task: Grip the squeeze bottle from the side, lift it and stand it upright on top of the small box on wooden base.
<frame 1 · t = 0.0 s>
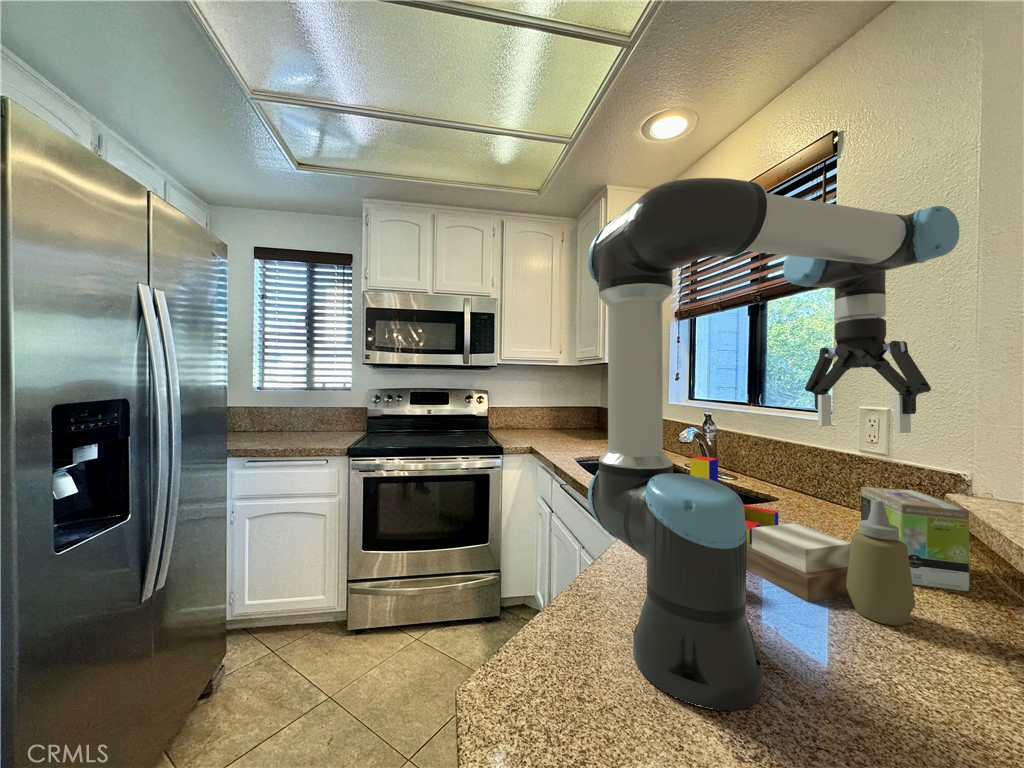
hand: (860, 429, 77), 28 cm above the countertop, tool pointing down, fingers open, 13 cm apart
box on wooden base: (800, 577, 75), on the countertop
building blocks toy: (715, 541, 94), on the countertop
squeeze bottle: (879, 617, 62), on the countertop
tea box: (909, 571, 78), on the countertop
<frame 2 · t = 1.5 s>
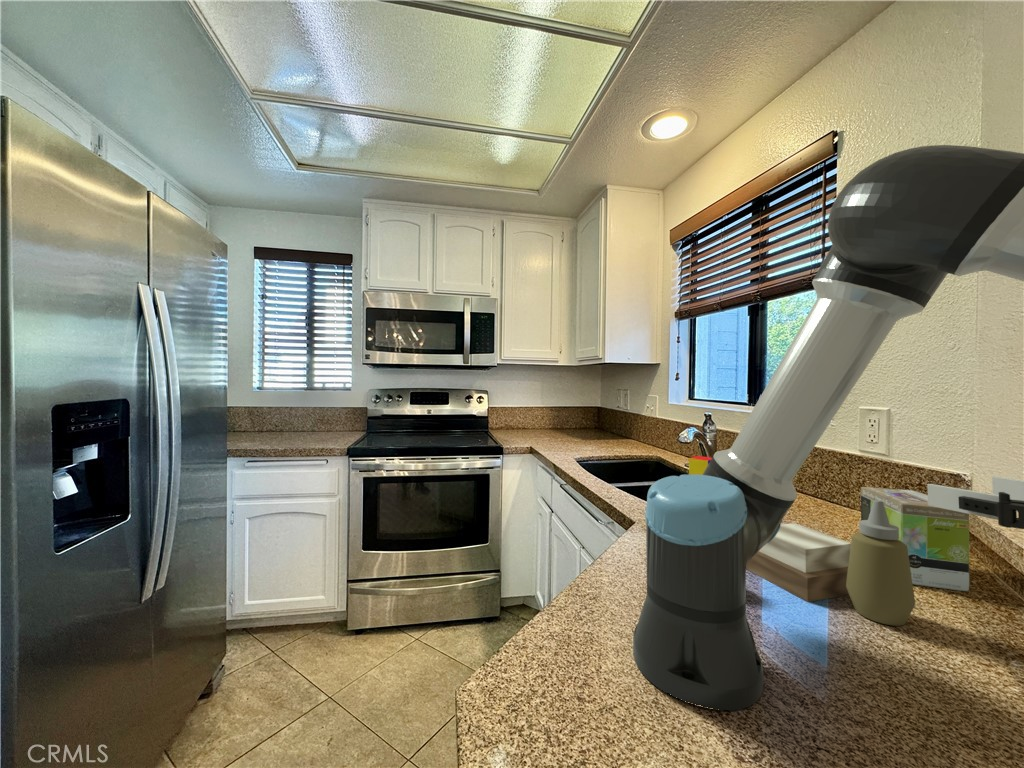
hand: (962, 490, 53), 22 cm above the countertop, tool horizontal, fingers open, 13 cm apart
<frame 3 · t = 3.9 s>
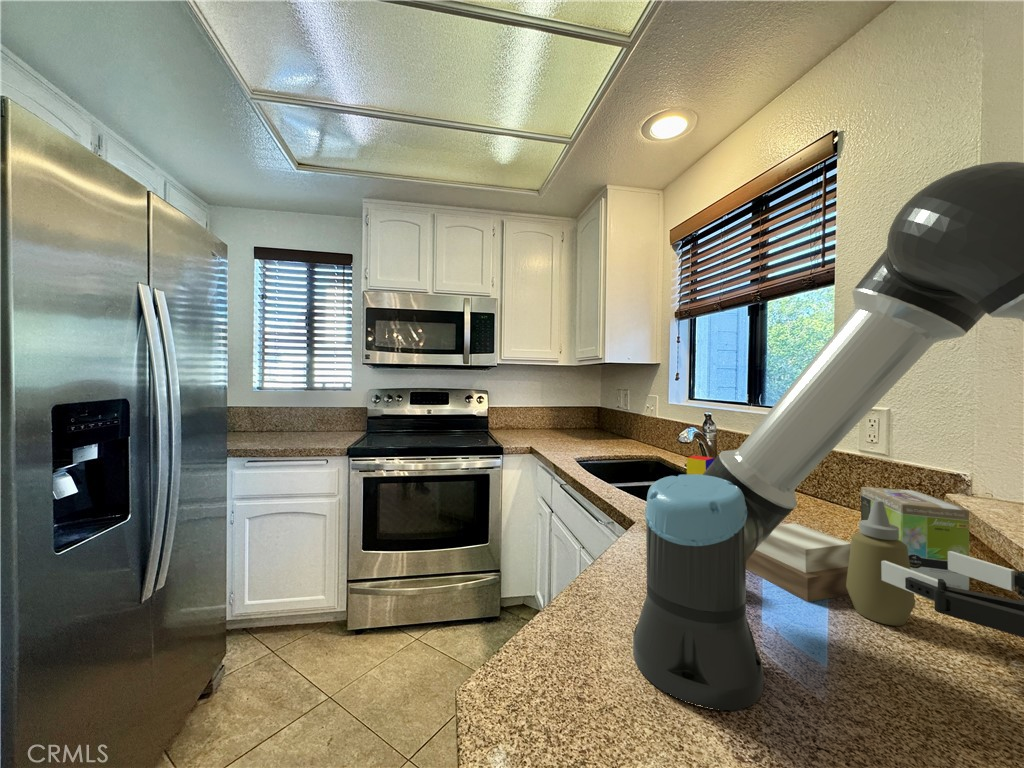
hand: (916, 564, 58), 10 cm above the countertop, tool horizontal, fingers open, 13 cm apart
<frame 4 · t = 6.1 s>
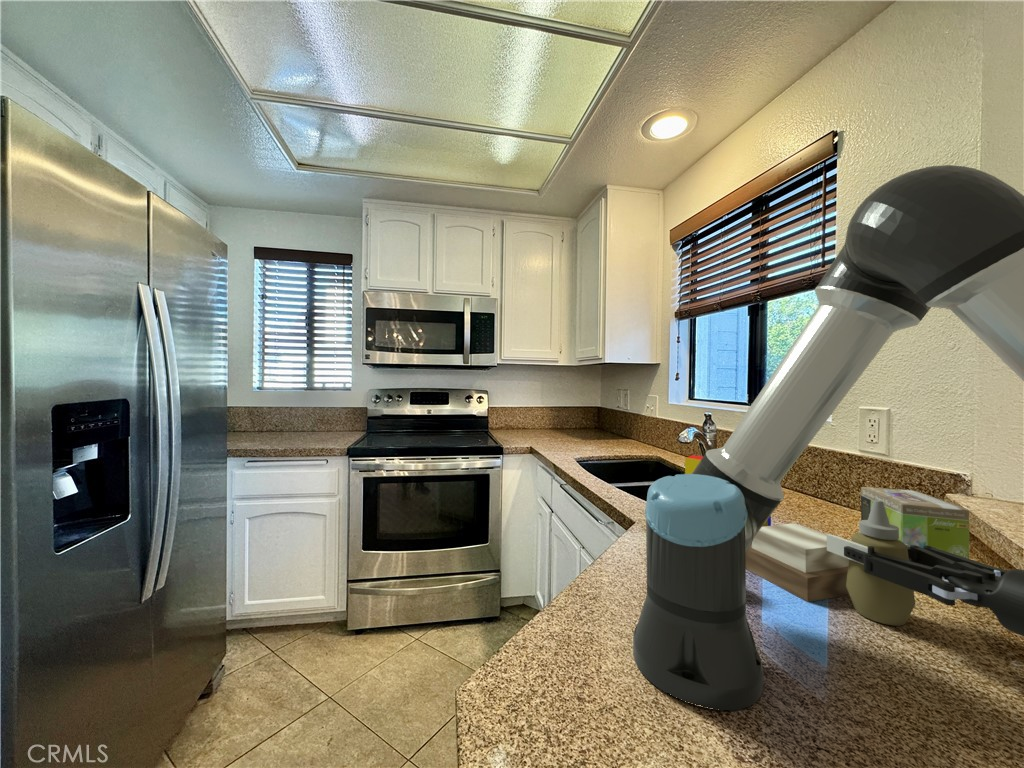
hand: (844, 540, 67), 10 cm above the countertop, tool horizontal, fingers closed on squeeze bottle, 6 cm apart
squeeze bottle: (879, 617, 62), on the countertop, touching gripper
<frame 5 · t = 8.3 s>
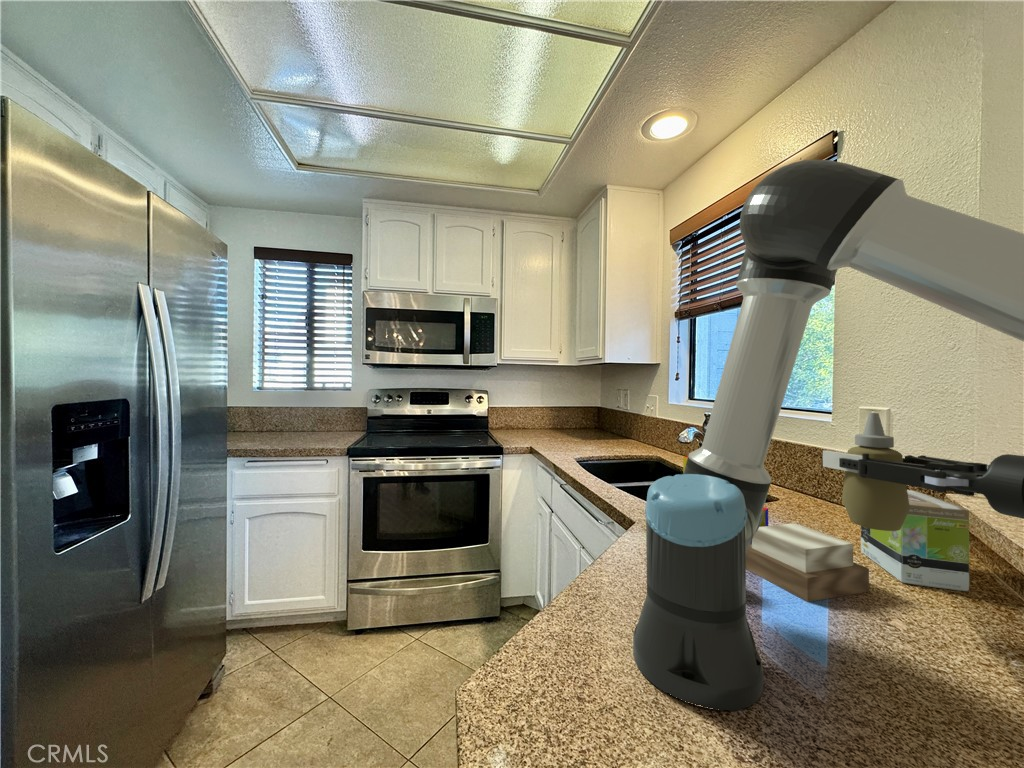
hand: (840, 457, 68), 24 cm above the countertop, tool horizontal, fingers closed on squeeze bottle, 6 cm apart
squeeze bottle: (874, 527, 63), point 14 cm above the countertop, touching gripper
when the fingers open (19 cm above the countertop, at t = 10.7 s): squeeze bottle drops 1 cm, resting on box on wooden base.
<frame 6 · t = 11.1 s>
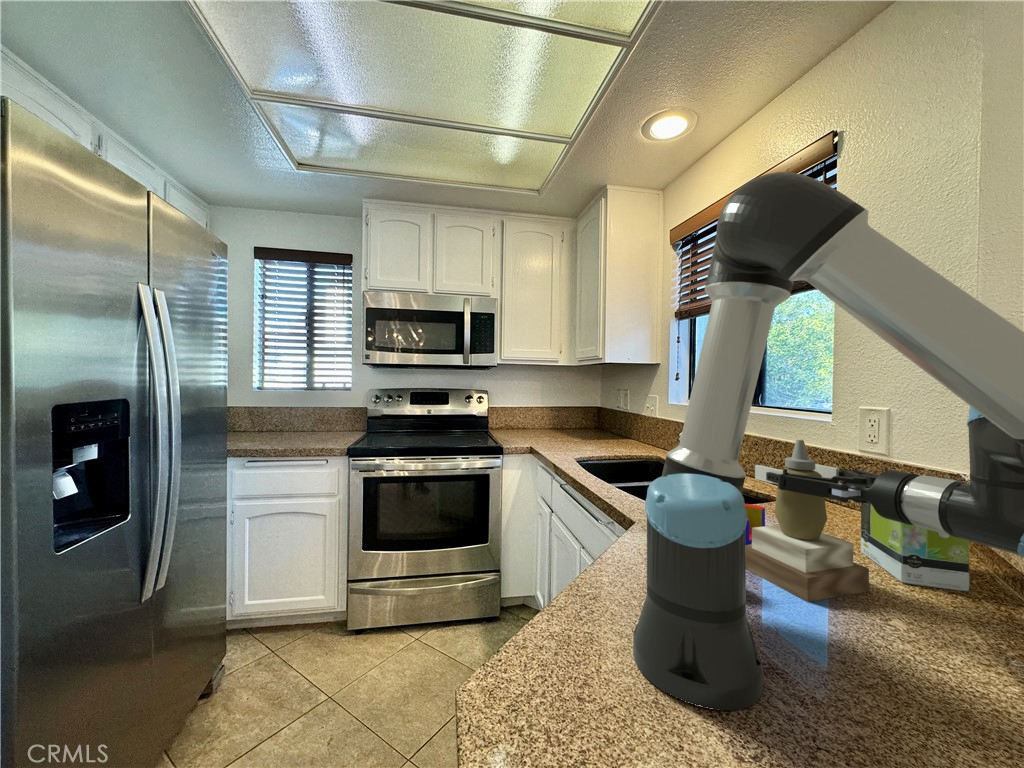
hand: (780, 470, 79), 19 cm above the countertop, tool horizontal, fingers open, 11 cm apart
squeeze bottle: (800, 536, 75), point 8 cm above the countertop, touching box on wooden base
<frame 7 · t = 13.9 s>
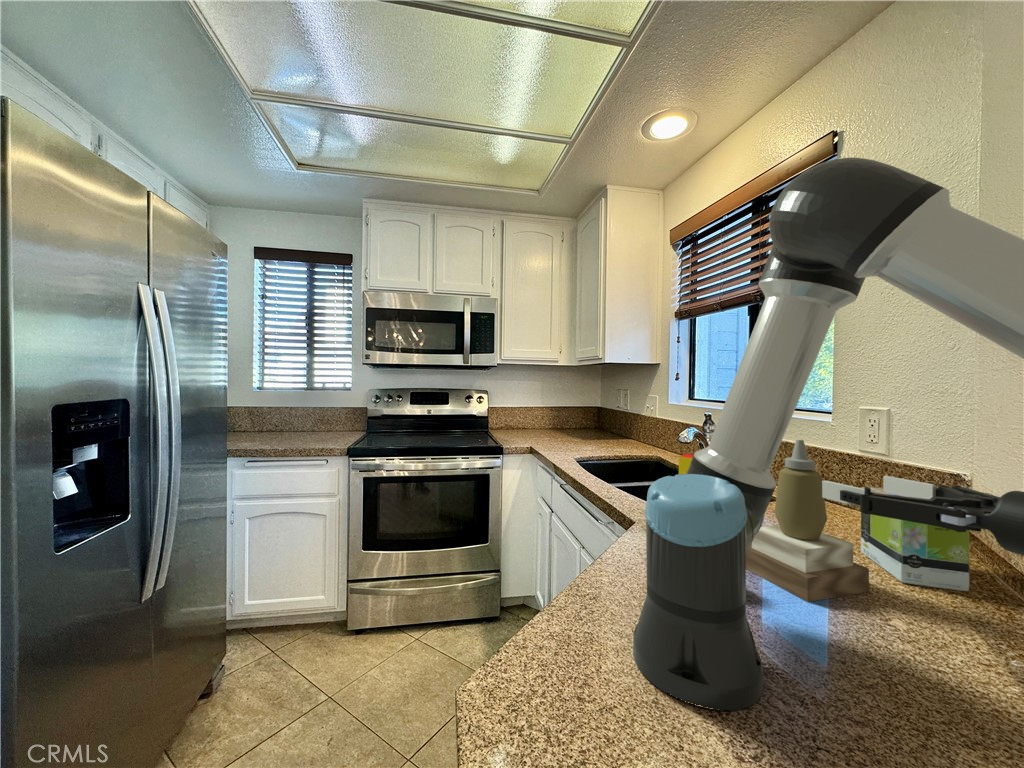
hand: (855, 486, 66), 20 cm above the countertop, tool horizontal, fingers open, 13 cm apart
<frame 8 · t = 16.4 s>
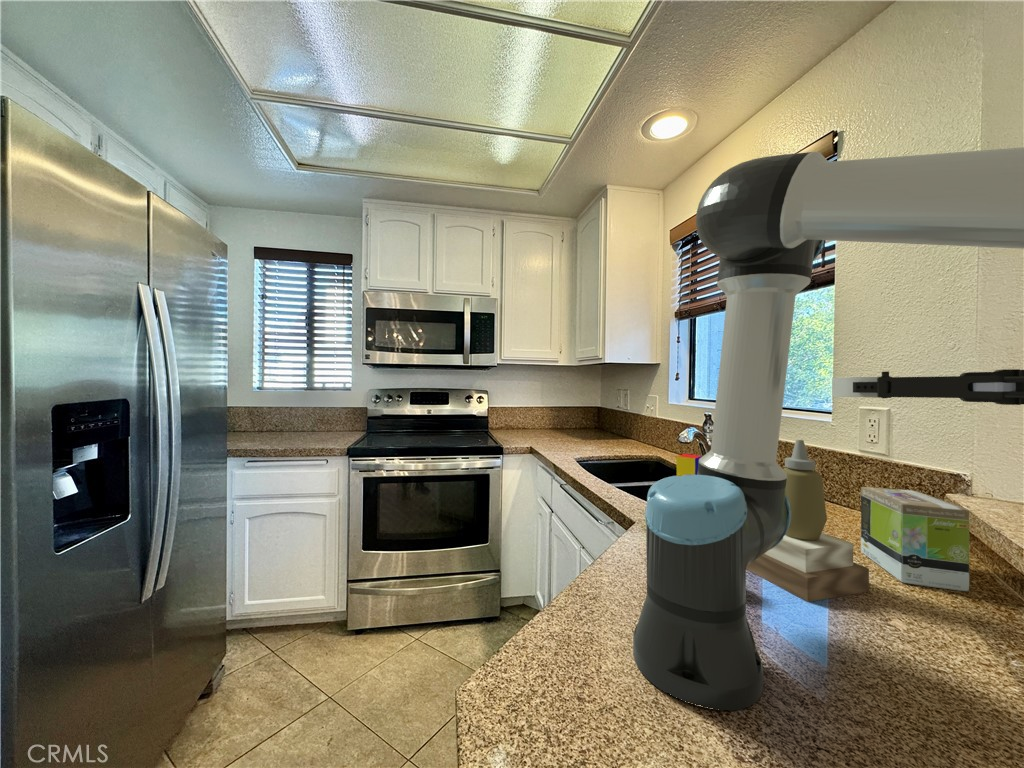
hand: (868, 387, 58), 36 cm above the countertop, tool horizontal, fingers open, 13 cm apart
at the end: squeeze bottle inside the target area on the box on wooden base (0.0 cm from its centre), point 7.8 cm above the box on wooden base's base; squeeze bottle tilted 0°; the gripper is holding nothing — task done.
